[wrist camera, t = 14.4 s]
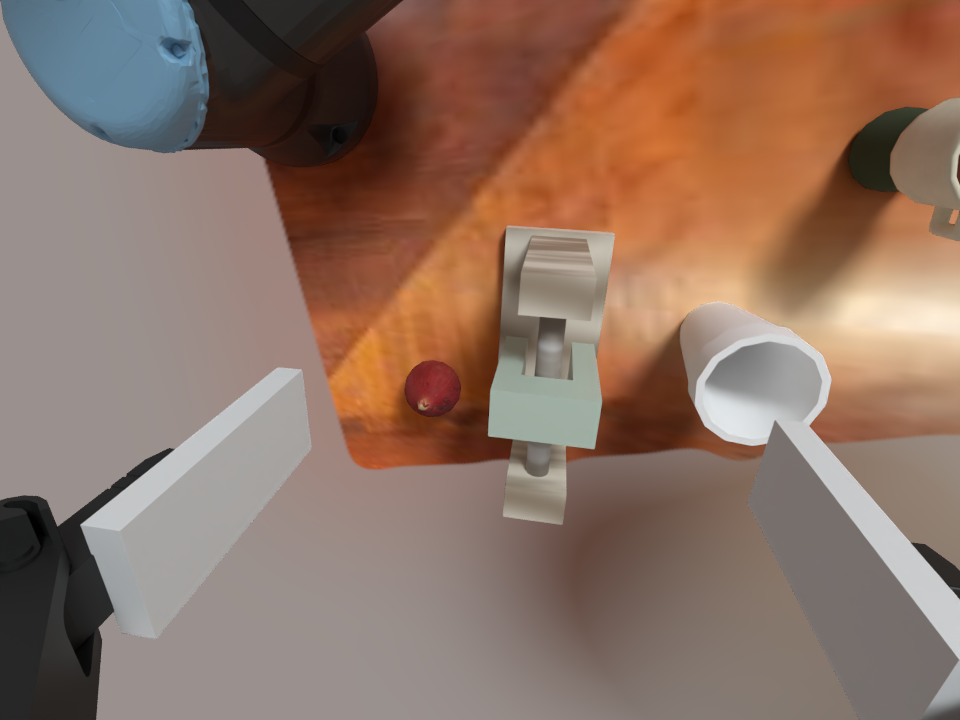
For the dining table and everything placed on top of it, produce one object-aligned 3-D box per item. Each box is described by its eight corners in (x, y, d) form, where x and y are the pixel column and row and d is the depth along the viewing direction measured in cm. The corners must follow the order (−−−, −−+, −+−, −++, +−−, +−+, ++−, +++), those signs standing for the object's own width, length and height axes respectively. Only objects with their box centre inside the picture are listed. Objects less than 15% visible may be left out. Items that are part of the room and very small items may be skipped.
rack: (507, 225, 48) (484, 262, 33) (613, 232, 47) (636, 273, 32) (495, 421, 57) (473, 517, 42) (583, 431, 56) (591, 533, 41)
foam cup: (696, 270, 47) (741, 313, 35) (785, 308, 47) (859, 363, 35) (646, 354, 51) (671, 418, 39) (728, 388, 51) (778, 462, 39)
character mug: (914, 217, 42) (1050, 247, 31) (824, 219, 43) (921, 248, 32) (960, 72, 38) (1138, 41, 26) (857, 77, 39) (985, 49, 27)
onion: (475, 368, 54) (462, 403, 47) (449, 405, 57) (433, 443, 50) (431, 339, 54) (411, 370, 47) (406, 378, 56) (383, 413, 49)
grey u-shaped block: (506, 336, 46) (490, 389, 36) (594, 344, 45) (602, 401, 35) (504, 374, 48) (488, 436, 38) (588, 383, 47) (594, 449, 37)
